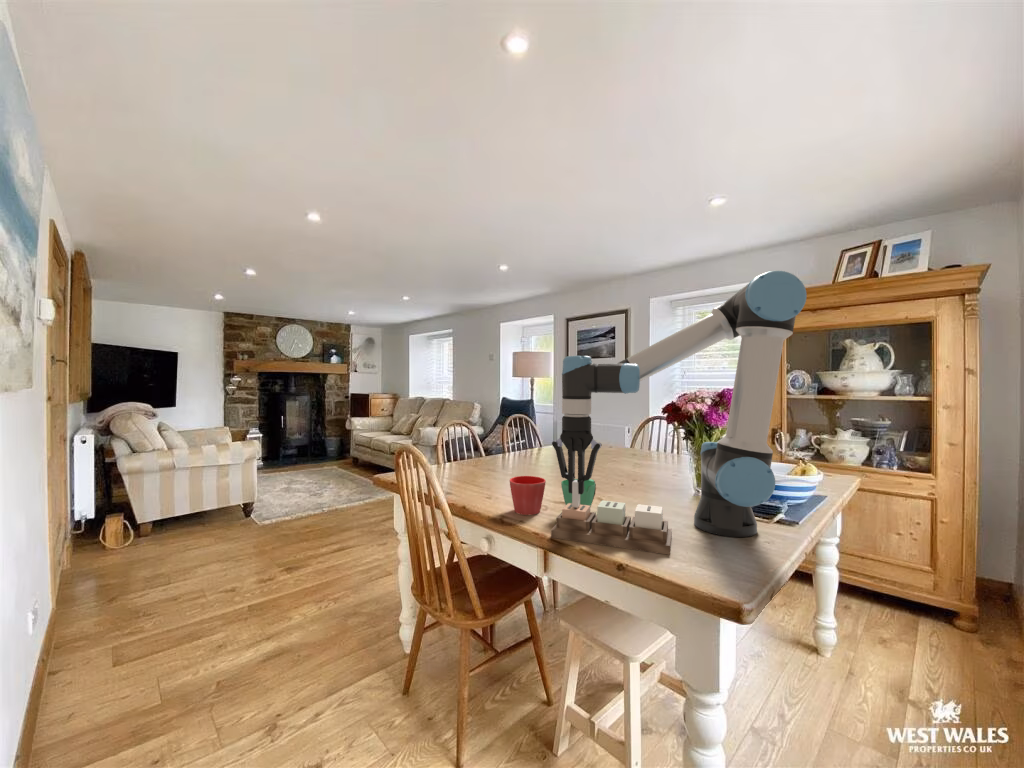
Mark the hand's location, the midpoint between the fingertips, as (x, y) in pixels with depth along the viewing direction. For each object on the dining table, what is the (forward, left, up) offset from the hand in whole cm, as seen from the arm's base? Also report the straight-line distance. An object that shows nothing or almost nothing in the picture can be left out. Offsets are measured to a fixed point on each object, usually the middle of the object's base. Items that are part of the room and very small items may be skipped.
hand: (576, 505), depth 109 cm
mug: (+2, -15, -7) cm, 17 cm away
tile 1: (-18, 0, -3) cm, 18 cm away
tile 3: (0, 0, -4) cm, 4 cm away
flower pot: (+18, -12, -7) cm, 23 cm away
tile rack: (-9, 0, -7) cm, 11 cm away
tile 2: (-9, 0, -3) cm, 9 cm away
